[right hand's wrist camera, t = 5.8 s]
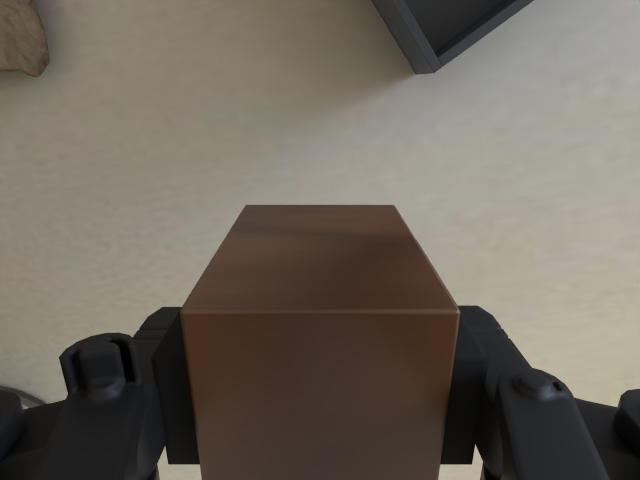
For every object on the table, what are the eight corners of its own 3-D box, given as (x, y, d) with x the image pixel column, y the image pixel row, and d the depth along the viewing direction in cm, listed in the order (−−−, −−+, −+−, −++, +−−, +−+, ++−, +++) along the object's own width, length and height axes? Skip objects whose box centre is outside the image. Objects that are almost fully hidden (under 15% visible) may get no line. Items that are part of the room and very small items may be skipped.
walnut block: (253, 333, 16) (204, 513, 9) (245, 204, 14) (177, 310, 7) (386, 333, 16) (435, 513, 9) (395, 204, 14) (462, 310, 7)
